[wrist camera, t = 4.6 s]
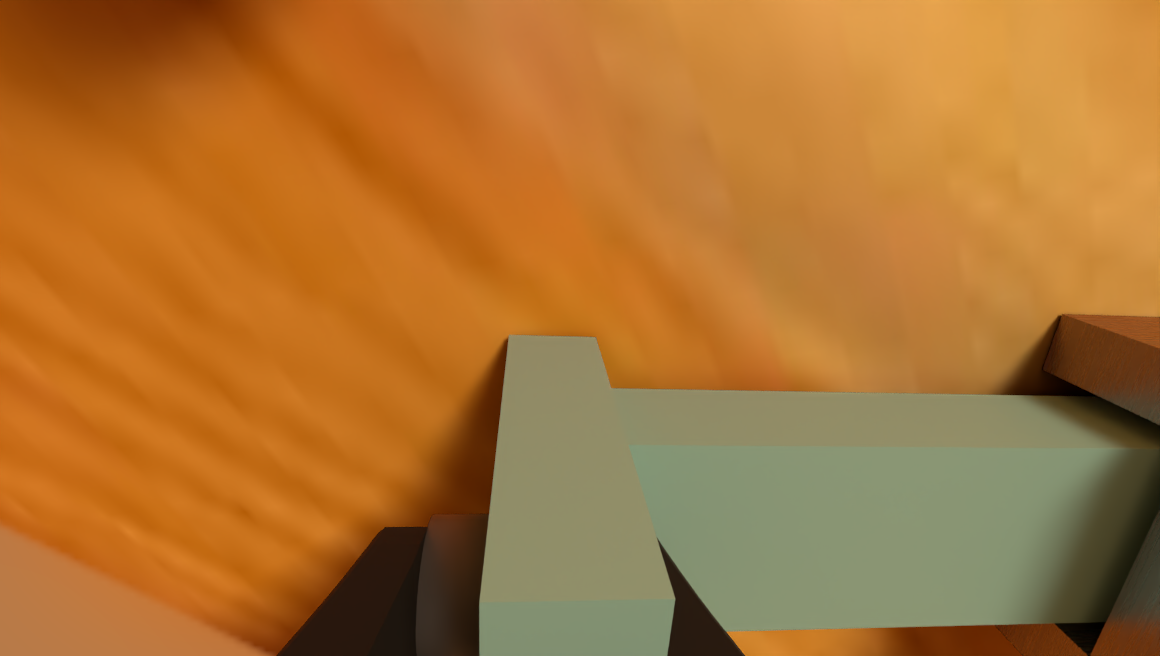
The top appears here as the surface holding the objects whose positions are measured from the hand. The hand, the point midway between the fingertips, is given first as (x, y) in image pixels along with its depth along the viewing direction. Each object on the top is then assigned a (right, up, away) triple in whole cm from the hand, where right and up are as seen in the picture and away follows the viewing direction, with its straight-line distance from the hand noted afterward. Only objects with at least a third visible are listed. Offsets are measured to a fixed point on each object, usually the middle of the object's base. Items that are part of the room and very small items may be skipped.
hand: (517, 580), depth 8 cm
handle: (+5, +1, +3) cm, 6 cm away
